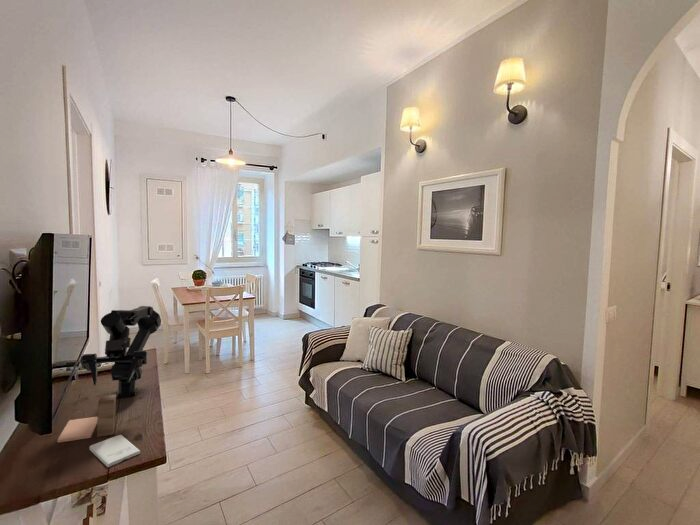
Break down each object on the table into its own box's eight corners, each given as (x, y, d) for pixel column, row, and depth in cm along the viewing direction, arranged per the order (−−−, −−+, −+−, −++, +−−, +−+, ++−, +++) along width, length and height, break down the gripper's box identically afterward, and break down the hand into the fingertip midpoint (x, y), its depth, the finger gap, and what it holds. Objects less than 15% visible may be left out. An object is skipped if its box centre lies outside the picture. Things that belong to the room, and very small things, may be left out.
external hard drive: (121, 439, 105) (140, 455, 98) (89, 451, 98) (107, 469, 91) (121, 434, 105) (140, 449, 98) (89, 445, 98) (107, 463, 91)
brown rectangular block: (99, 430, 108) (100, 396, 107) (114, 427, 109) (116, 394, 109) (96, 436, 104) (98, 401, 103) (112, 434, 106) (113, 399, 105)
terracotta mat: (69, 422, 110) (69, 420, 110) (99, 418, 114) (99, 416, 114) (57, 442, 100) (57, 440, 100) (90, 437, 103) (90, 435, 103)
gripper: (82, 330, 112) (71, 375, 103) (148, 328, 121) (143, 369, 111) (87, 347, 120) (78, 390, 110) (149, 343, 128) (144, 383, 119)
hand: (111, 383), depth 113 cm, fingers open, 9 cm apart
